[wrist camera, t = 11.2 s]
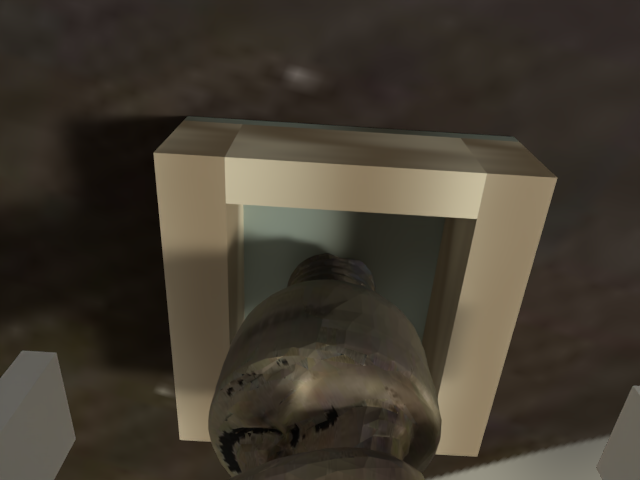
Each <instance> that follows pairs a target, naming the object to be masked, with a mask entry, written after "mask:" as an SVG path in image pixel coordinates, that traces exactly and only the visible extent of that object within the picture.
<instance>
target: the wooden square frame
mask: <svg viewBox="0 0 640 480" xmlns="http://www.w3.org/2000/svg"><path fill="white" fill-rule="evenodd" d="M153 154H154V165H155V176H156V186H157V197H158V208H159V219H160V230H161V241H162V251H163V262H164V273H165V284H166V295H167V306H168V316H169V327H170V338H171V349H172V360H173V371H174V381H175V392H176V403H177V414H178V425H179V436H180V440H192V441H209V442H211V440H210V435H209V430H208V417H209V410H210V405H211V402H212V399H213V396H214V393H215V388H216V385H217V382H218V379H219V376H220V373H221V370H222V367H223V363H224V361H225V359H226V356H227V354H228V351H229V348H230V345H231V343H232V341H233V339H234V337H235V335H236V334H237V332H238V330H239V328H240V326H241V324H242V323H243V321H244V320H245V319H246V317H247V316H248V314H249V313H250V312H251V311H252V310H253V309H254V308H255V307H256V306H257V305H258V304H260V303H261V302H262V301H264V300H265V299H266V298H268V297H269V296H270V295H272V294H274V293H276V292H278V291H280V290H282V289H284V288H286V287H287V285H288V281H289V279H290V276H291V274H292V273H293V272H294V270H295V269H296V267H297V266H298V265H299V264H300V263H301V262H303V261H304V260H306V259H307V258H309V257H312V256H314V255H319V254H324V253H330V254H332V255H334V256H337V257H340V258H346V259H354V260H360V261H361V262H363V263H364V264H365V265H366V266H367V268H368V269H369V270H370V271H371V273H372V275H373V278H374V281H375V286H376V288H375V291H376V292H377V293H378V294H380V295H381V296H383V297H385V298H386V299H388V300H389V301H390V302H391V303H393V304H394V305H395V306H396V307H397V308H398V309H400V310H401V311H402V312H403V313H404V315H405V316H406V317H407V318H408V320H409V321H410V322H411V323H412V324H413V326H414V328H415V330H416V332H417V334H418V336H419V338H420V341H421V343H422V346H423V348H424V351H425V355H426V359H427V364H428V368H429V371H430V374H431V377H432V380H433V383H434V387H435V390H436V393H437V399H438V405H439V411H440V415H441V419H442V424H441V438H440V442H439V445H438V448H437V451H436V454H441V455H459V456H476V457H477V456H478V452H479V449H480V445H481V442H482V438H483V435H484V431H485V428H486V424H487V421H488V417H489V414H490V410H491V407H492V403H493V400H494V396H495V393H496V389H497V386H498V382H499V379H500V376H501V372H502V369H503V365H504V362H505V358H506V355H507V351H508V348H509V344H510V341H511V337H512V334H513V330H514V327H515V323H516V320H517V316H518V313H519V309H520V306H521V302H522V299H523V295H524V292H525V288H526V285H527V282H528V278H529V275H530V271H531V268H532V264H533V261H534V257H535V254H536V250H537V247H538V243H539V240H540V236H541V233H542V229H543V226H544V222H545V219H546V215H547V212H548V208H549V205H550V201H551V198H552V194H553V191H554V188H555V184H556V181H557V177H556V176H555V175H554V174H553V173H552V172H550V171H549V170H548V169H547V168H546V167H545V166H544V165H543V164H542V163H541V162H540V161H539V160H538V159H537V158H536V157H535V156H533V155H532V154H531V153H530V152H529V151H528V150H527V149H526V148H525V147H524V146H523V145H522V144H521V143H520V142H519V141H518V140H516V139H515V138H514V137H508V136H492V135H477V134H461V133H445V132H429V131H413V130H398V129H382V128H366V127H350V126H335V125H319V124H303V123H287V122H271V121H256V120H240V119H224V118H208V117H192V116H187V118H186V119H185V120H184V121H183V122H182V123H181V124H180V125H179V126H178V127H177V128H176V129H175V130H174V131H173V132H172V133H171V134H170V136H169V137H168V138H167V139H166V140H165V141H164V142H163V143H162V144H161V145H160V146H159V147H158V148H157V149H156V150H155V151H154V153H153Z"/></svg>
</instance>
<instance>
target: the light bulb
mask: <svg viewBox="0 0 640 480" xmlns="http://www.w3.org/2000/svg"><path fill="white" fill-rule="evenodd" d="M375 288H376V286H375V281H374V278H373V275H372V273H371V271H370V270H369V269H368V268H367V266H366V265H365V264H364V263H363V262H361V261H360V260H354V259H346V258H340V257H337V256H334V255H332V254H330V253H324V254H319V255H314V256H312V257H309V258H307V259H306V260H304V261H303V262H301V263H300V264H299V265H298V266H297V267H296V269H295V270H294V272H293V273H292V274H291V276H290V279H289V281H288V285H287V287H286V288H284V289H282V290H280V291H278V292H276V293H274V294H272V295H270V296H269V297H268V298H266V299H265V300H264V301H262V302H261V303H260V304H258V305H257V306H256V307H255V308H254V309H253V310H252V311H251V312H250V313H249V314H248V316H247V317H246V319H245V320H244V321H243V323H242V324H241V326H240V328H239V330H238V332H237V334H236V335H235V337H234V339H233V341H232V343H231V345H230V348H229V351H228V354H227V356H226V359H225V361H224V363H223V367H222V370H221V373H220V376H219V379H218V382H217V385H216V388H215V393H214V396H213V399H212V402H211V405H210V410H209V417H208V430H209V435H210V440H211V443H212V446H213V448H214V450H215V452H216V454H217V456H218V458H219V460H220V463H221V464H222V465H223V466H224V468H225V469H226V470H227V471H228V473H229V474H230V475H231V477H232V478H231V479H229V480H425V479H424V477H423V475H422V472H423V471H424V470H425V469H426V468H427V466H428V465H429V463H430V462H431V460H432V459H433V457H434V456H435V454H436V451H437V448H438V445H439V442H440V438H441V424H442V419H441V415H440V411H439V405H438V399H437V393H436V390H435V387H434V383H433V380H432V377H431V374H430V371H429V368H428V364H427V359H426V355H425V351H424V348H423V346H422V343H421V341H420V338H419V336H418V334H417V332H416V330H415V328H414V326H413V324H412V323H411V322H410V321H409V320H408V318H407V317H406V316H405V315H404V313H403V312H402V311H401V310H400V309H398V308H397V307H396V306H395V305H394V304H393V303H391V302H390V301H389V300H388V299H386V298H385V297H383V296H381V295H380V294H378V293H377V292H376V291H375Z"/></svg>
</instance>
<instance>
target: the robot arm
mask: <svg viewBox="0 0 640 480" xmlns="http://www.w3.org/2000/svg"><path fill="white" fill-rule="evenodd" d="M75 439H76V438H75V433H74V429H73V424H72V420H71V416H70V411H69V407H68V402H67V398H66V393H65V389H64V384H63V380H62V376H61V371H60V367H59V362H58V358H57V353H53V352H35V351H22V352H21V353H20V354H19V355H18V357H17V358H16V359H15V360H14V362H13V363H12V364H11V366H10V367H9V368H8V369H7V371H6V372H5V373H4V374H3V376H2V377H1V378H0V480H54V479H55V477H56V475H57V473H58V471H59V469H60V467H61V466H62V464H63V462H64V460H65V458H66V456H67V454H68V452H69V451H70V449H71V447H72V445H73V443H74V441H75ZM596 468H597V470H598V472H599V474H600V476H601V478H602V480H640V386H632V389H631V391H630V393H629V395H628V398H627V400H626V402H625V404H624V407H623V409H622V411H621V413H620V415H619V418H618V420H617V422H616V424H615V427H614V429H613V431H612V433H611V435H610V438H609V440H608V442H607V444H606V447H605V449H604V451H603V454H602V456H601V458H600V460H599V462H598V465H597V467H596Z"/></svg>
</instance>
